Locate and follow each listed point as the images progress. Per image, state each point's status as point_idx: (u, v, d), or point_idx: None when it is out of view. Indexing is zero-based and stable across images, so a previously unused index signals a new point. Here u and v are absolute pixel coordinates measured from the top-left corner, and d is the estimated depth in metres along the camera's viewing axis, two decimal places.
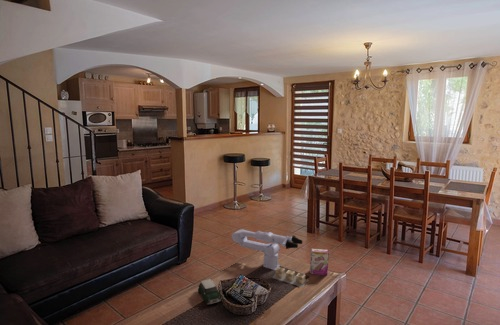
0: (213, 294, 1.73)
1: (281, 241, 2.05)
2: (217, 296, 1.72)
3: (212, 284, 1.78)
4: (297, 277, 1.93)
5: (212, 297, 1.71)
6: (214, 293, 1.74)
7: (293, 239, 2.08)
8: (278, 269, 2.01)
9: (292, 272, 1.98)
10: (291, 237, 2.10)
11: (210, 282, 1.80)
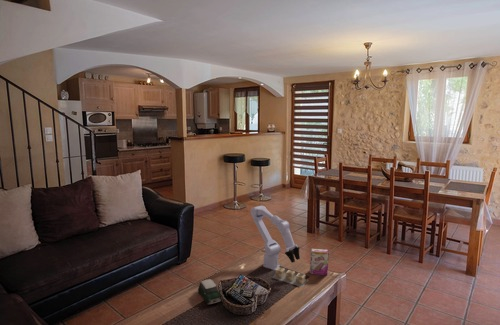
0: (213, 294, 1.73)
1: (287, 243, 1.98)
2: (217, 296, 1.72)
3: (212, 284, 1.78)
4: (297, 277, 1.93)
5: (212, 297, 1.71)
6: (214, 293, 1.74)
7: (295, 249, 2.02)
8: (278, 269, 2.01)
9: (292, 272, 1.98)
10: (296, 245, 2.04)
11: (210, 282, 1.80)
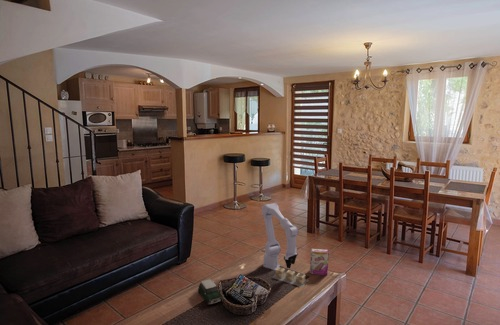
0: (214, 294, 1.73)
1: (289, 249, 1.93)
2: (218, 296, 1.72)
3: (213, 284, 1.78)
4: (297, 277, 1.93)
5: (213, 297, 1.71)
6: (215, 293, 1.74)
7: (293, 255, 1.99)
8: (278, 269, 2.01)
9: (292, 272, 1.98)
10: (295, 250, 2.00)
11: (210, 282, 1.80)
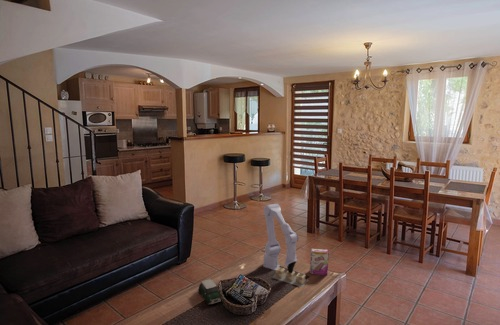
0: (214, 294, 1.73)
1: (289, 256, 1.94)
2: (218, 296, 1.72)
3: (213, 284, 1.78)
4: (297, 277, 1.93)
5: (213, 297, 1.71)
6: (215, 293, 1.74)
7: (291, 263, 1.97)
8: (278, 269, 2.01)
9: (292, 272, 1.98)
10: (295, 257, 2.01)
11: (210, 282, 1.80)
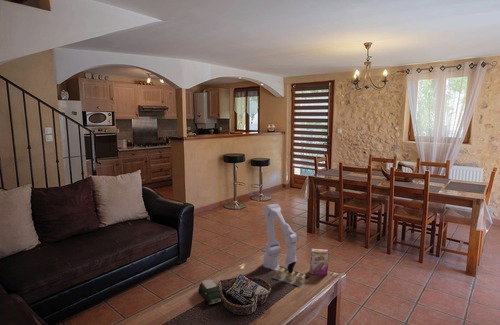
0: (215, 294, 1.73)
1: (289, 256, 1.94)
2: (219, 296, 1.73)
3: (213, 284, 1.78)
4: (297, 277, 1.93)
5: (214, 297, 1.71)
6: (215, 293, 1.74)
7: None
8: (278, 269, 2.01)
9: (292, 272, 1.98)
10: (295, 257, 2.01)
11: (211, 282, 1.80)
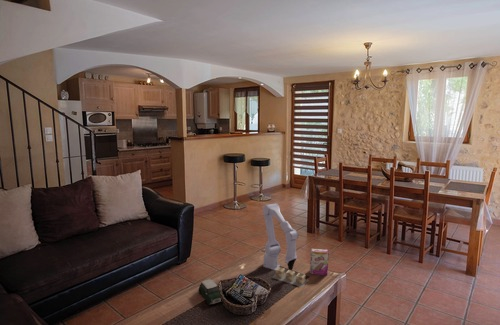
0: (215, 294, 1.73)
1: (289, 253, 1.93)
2: (219, 296, 1.73)
3: (214, 284, 1.78)
4: (297, 277, 1.93)
5: (214, 297, 1.71)
6: (216, 293, 1.74)
7: None
8: (278, 269, 2.01)
9: (292, 272, 1.98)
10: (295, 254, 2.00)
11: (211, 282, 1.80)
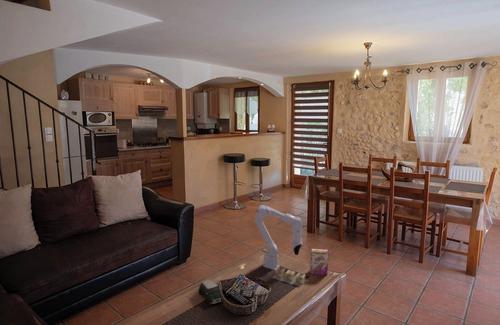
0: (216, 294, 1.73)
1: (295, 239, 2.09)
2: None
3: (214, 284, 1.78)
4: (297, 277, 1.93)
5: (215, 297, 1.71)
6: (216, 293, 1.74)
7: None
8: (278, 269, 2.01)
9: (292, 272, 1.98)
10: (301, 240, 2.16)
11: (211, 282, 1.80)
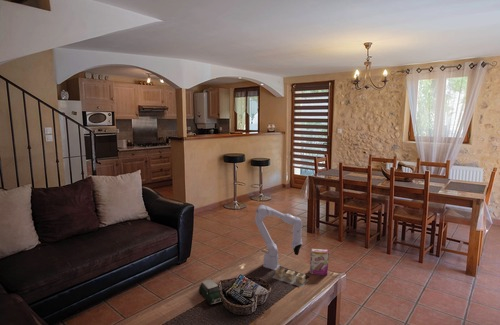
0: (216, 294, 1.73)
1: (295, 239, 2.09)
2: None
3: (214, 284, 1.78)
4: (297, 277, 1.93)
5: (215, 297, 1.71)
6: (217, 293, 1.74)
7: None
8: (278, 269, 2.01)
9: (292, 272, 1.98)
10: (301, 240, 2.16)
11: (212, 282, 1.80)
